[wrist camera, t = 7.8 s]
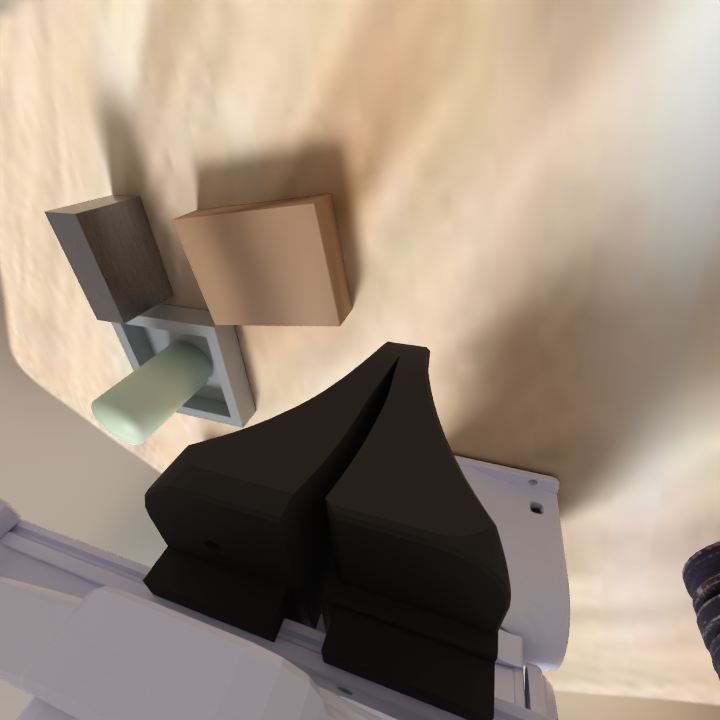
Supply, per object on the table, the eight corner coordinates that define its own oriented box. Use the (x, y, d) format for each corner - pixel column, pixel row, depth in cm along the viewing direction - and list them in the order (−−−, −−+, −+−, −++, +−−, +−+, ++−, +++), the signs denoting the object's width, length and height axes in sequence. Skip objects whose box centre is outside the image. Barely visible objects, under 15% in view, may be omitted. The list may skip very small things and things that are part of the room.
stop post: (139, 196, 21) (75, 213, 18) (173, 295, 24) (124, 324, 21) (112, 195, 21) (44, 211, 18) (148, 291, 25) (97, 319, 21)
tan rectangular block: (333, 192, 18) (313, 203, 16) (354, 305, 21) (340, 326, 19) (201, 208, 20) (171, 220, 18) (237, 306, 24) (215, 324, 22)
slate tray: (231, 313, 23) (214, 327, 22) (255, 411, 28) (242, 427, 27) (127, 299, 26) (105, 310, 24) (166, 392, 30) (150, 406, 29)
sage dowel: (219, 384, 27) (154, 449, 22) (179, 378, 28) (109, 439, 23) (203, 342, 25) (128, 403, 20) (162, 337, 26) (80, 395, 21)
